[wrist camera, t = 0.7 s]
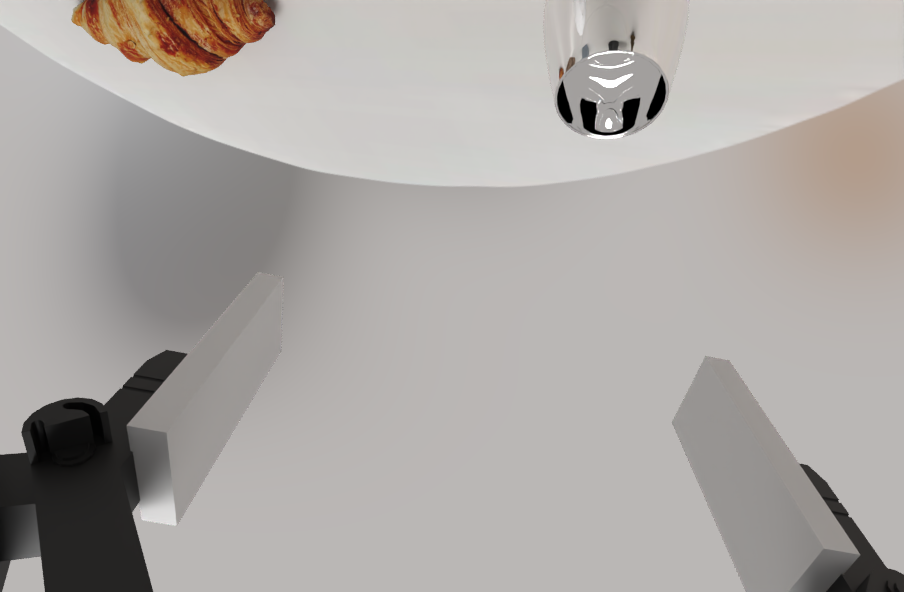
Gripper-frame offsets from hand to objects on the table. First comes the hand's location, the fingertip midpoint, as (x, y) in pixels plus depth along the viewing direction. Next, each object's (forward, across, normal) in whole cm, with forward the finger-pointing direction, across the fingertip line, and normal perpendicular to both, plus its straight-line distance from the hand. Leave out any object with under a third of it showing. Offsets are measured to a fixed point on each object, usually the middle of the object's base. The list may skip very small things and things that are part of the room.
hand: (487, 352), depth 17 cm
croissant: (+42, -30, +4) cm, 52 cm away
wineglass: (+32, +5, +17) cm, 37 cm away
